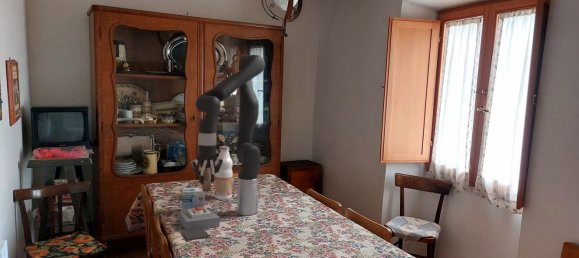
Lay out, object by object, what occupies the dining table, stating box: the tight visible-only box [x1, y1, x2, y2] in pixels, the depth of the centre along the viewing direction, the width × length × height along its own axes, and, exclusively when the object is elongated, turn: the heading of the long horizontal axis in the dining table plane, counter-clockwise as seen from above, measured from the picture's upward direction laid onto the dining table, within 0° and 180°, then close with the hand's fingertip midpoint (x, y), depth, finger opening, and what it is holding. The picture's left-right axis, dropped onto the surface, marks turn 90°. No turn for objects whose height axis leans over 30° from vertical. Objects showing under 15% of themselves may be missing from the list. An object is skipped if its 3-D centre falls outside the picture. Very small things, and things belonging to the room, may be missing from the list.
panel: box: [178, 206, 221, 231], centre depth 166 cm, size 14×14×6 cm
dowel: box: [201, 167, 212, 193], centre depth 161 cm, size 4×4×10 cm
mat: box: [180, 228, 210, 241], centre depth 153 cm, size 9×9×1 cm
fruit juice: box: [214, 145, 234, 201], centre depth 203 cm, size 9×9×28 cm
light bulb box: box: [180, 187, 206, 211], centre depth 180 cm, size 11×7×11 cm, turn 105°
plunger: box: [195, 206, 203, 214], centre depth 165 cm, size 4×4×4 cm
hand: (206, 183), depth 161 cm, fingers closed on dowel, 3 cm apart
